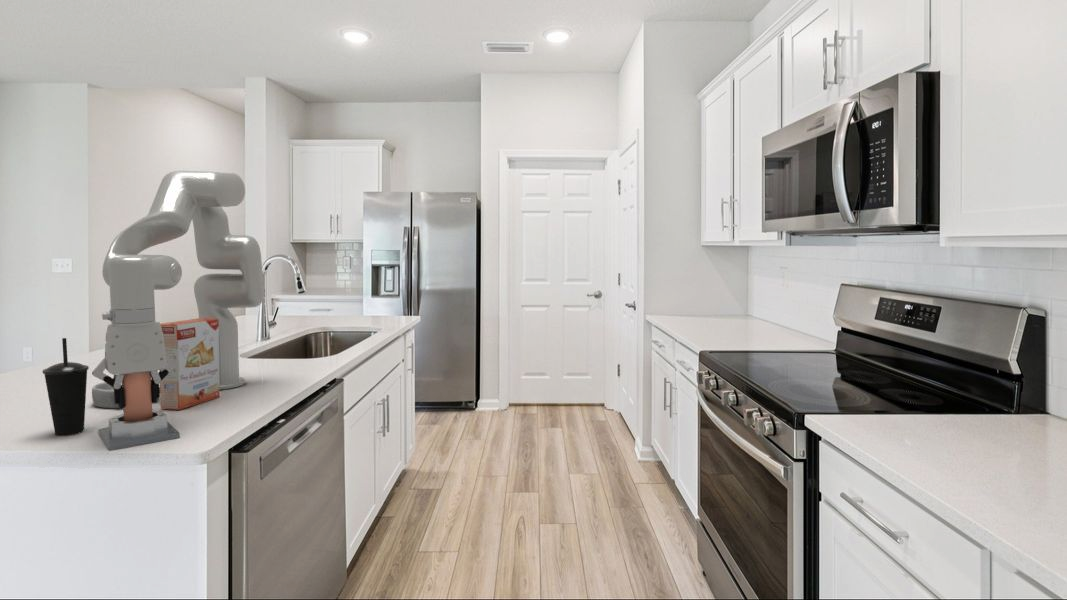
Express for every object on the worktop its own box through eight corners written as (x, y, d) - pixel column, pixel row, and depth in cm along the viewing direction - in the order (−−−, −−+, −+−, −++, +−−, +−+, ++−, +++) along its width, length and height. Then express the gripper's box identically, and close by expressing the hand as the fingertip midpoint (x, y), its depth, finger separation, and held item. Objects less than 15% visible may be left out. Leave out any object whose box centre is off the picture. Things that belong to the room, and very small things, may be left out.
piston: (122, 423, 125) (119, 364, 124) (150, 419, 129) (147, 361, 128) (126, 429, 122) (123, 367, 120) (155, 424, 125) (152, 364, 124)
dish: (87, 402, 151) (85, 383, 151) (150, 393, 161) (149, 375, 161) (101, 414, 142) (99, 393, 141) (167, 403, 152) (166, 383, 151)
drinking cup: (62, 427, 131) (57, 335, 129) (100, 426, 131) (95, 335, 129) (36, 438, 123) (30, 341, 121) (76, 437, 124) (71, 341, 122)
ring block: (98, 433, 126) (97, 414, 126) (164, 422, 134) (163, 405, 134) (109, 450, 116) (108, 430, 116) (179, 437, 124) (179, 418, 124)
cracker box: (180, 411, 144) (177, 324, 142) (159, 409, 145) (155, 323, 143) (222, 397, 158) (219, 317, 156) (202, 395, 159) (199, 317, 157)
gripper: (84, 322, 115) (89, 415, 116) (185, 315, 126) (188, 401, 128) (79, 318, 120) (84, 407, 122) (176, 312, 132) (179, 394, 133)
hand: (137, 403), depth 125 cm, fingers closed on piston, 5 cm apart
